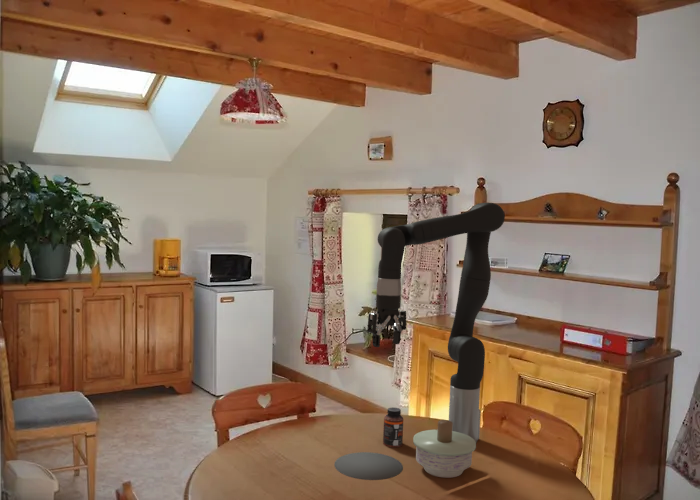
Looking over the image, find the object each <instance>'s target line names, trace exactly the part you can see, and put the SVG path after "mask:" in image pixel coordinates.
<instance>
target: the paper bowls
mask: <svg viewBox="0 0 700 500" xmlns="http://www.w3.org/2000/svg"><path fill="white" fill-rule="evenodd" d="M415 449H416V450H415V461H416V463H418V464H419V465H420V466H422V467H423V469H424V471H425V472H426V473H427V474H429V475H431V476H433V477H439V478H456V477H459V476H461V475H462V474H463V473H464V471H465V470H467V469H469V468H470V467H471V465H472V463H473V461H472V460H473V459H472V458H473V452H471V453H469V454H465V455H459V456H445V455H437V454H432V453H429V452H426V451H423V450H421V449H419V448H417V447H416V446H415Z"/></svg>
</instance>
